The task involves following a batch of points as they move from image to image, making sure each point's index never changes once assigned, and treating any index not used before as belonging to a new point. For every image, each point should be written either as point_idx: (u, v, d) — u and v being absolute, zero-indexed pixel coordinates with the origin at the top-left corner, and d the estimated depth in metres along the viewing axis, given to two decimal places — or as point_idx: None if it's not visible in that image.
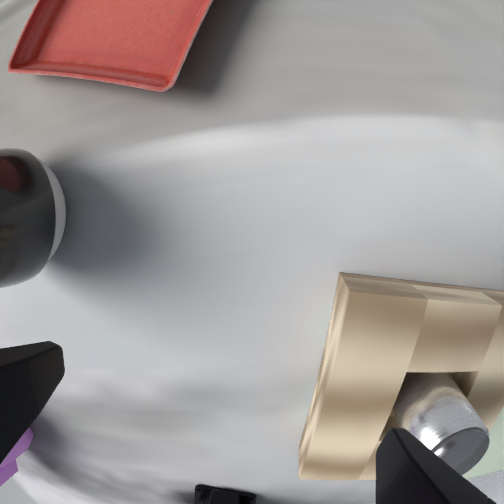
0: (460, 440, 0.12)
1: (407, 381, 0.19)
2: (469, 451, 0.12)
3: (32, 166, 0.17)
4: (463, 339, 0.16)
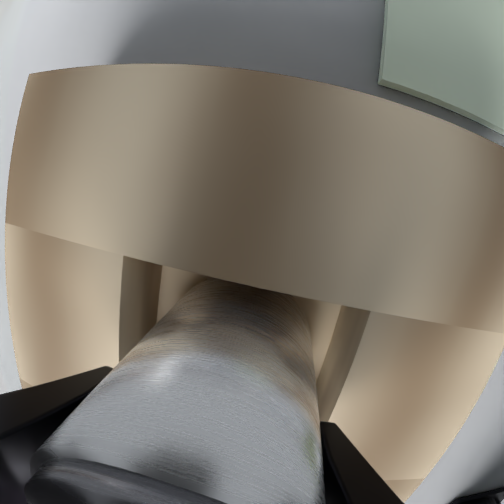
0: None
1: None
2: None
3: None
4: (54, 318, 0.08)
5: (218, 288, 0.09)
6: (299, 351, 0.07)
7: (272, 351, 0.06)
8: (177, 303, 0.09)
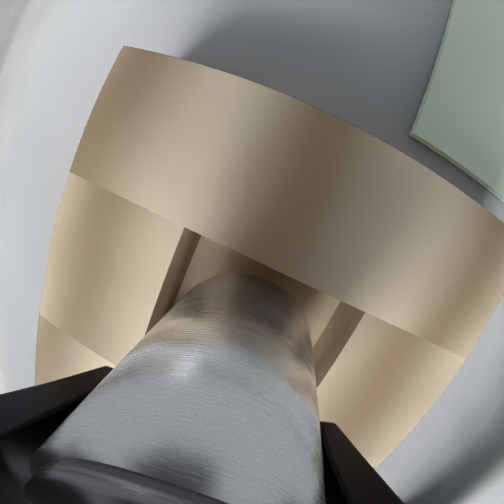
0: None
1: None
2: None
3: None
4: (98, 266, 0.10)
5: (218, 288, 0.09)
6: (299, 351, 0.07)
7: (272, 351, 0.06)
8: (177, 303, 0.09)
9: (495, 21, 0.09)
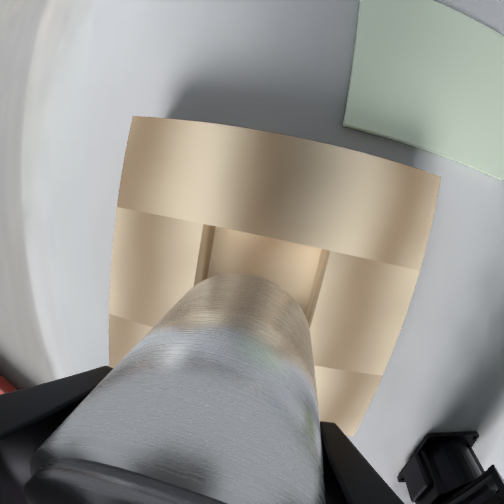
0: None
1: None
2: None
3: None
4: (151, 264, 0.16)
5: (218, 288, 0.09)
6: (299, 352, 0.07)
7: (272, 352, 0.06)
8: (177, 303, 0.09)
9: (396, 11, 0.15)
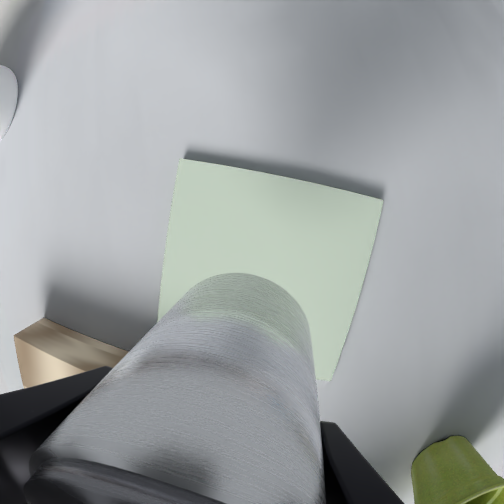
0: None
1: None
2: None
3: None
4: None
5: (218, 288, 0.09)
6: (300, 351, 0.07)
7: (272, 352, 0.06)
8: (177, 303, 0.09)
9: (213, 208, 0.18)
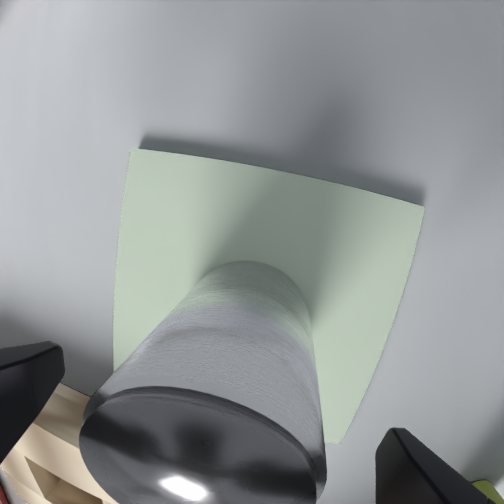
0: (103, 481, 0.05)
1: None
2: (152, 466, 0.04)
3: None
4: (9, 459, 0.14)
5: (231, 272, 0.11)
6: (300, 321, 0.09)
7: (279, 316, 0.08)
8: (197, 285, 0.11)
9: (176, 218, 0.12)
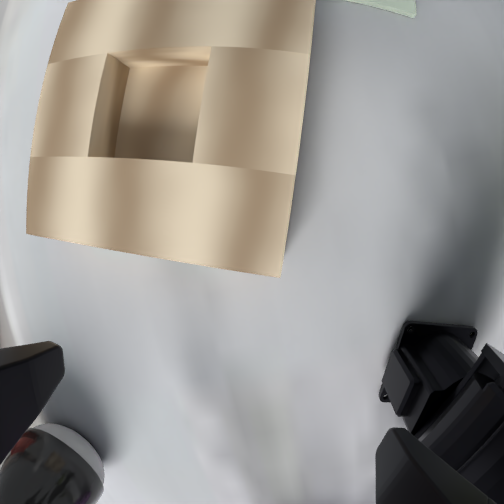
0: None
1: None
2: None
3: None
4: (65, 97, 0.15)
5: None
6: None
7: None
8: None
9: None
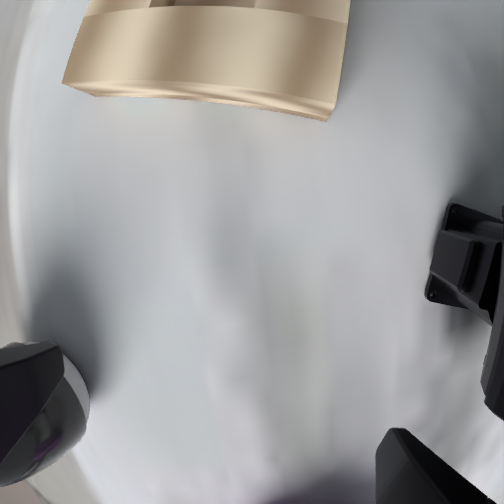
0: None
1: None
2: None
3: None
4: None
5: None
6: None
7: None
8: None
9: None
